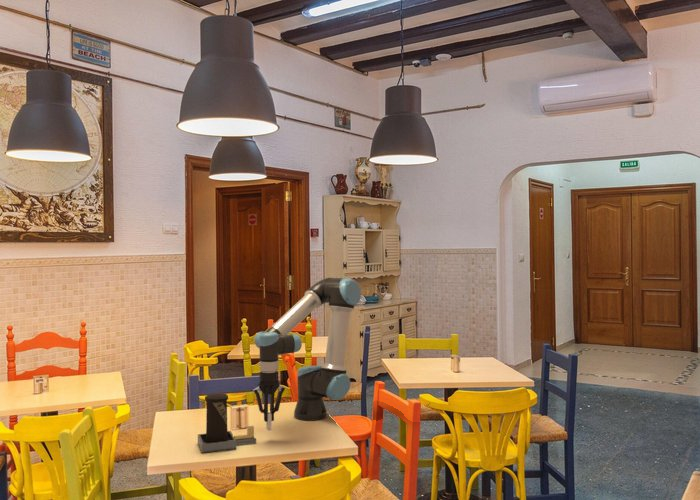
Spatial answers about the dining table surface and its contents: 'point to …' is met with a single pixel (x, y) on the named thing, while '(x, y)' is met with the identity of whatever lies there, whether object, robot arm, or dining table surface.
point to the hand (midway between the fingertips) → (268, 429)
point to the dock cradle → (216, 444)
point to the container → (216, 417)
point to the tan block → (249, 434)
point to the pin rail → (246, 441)
